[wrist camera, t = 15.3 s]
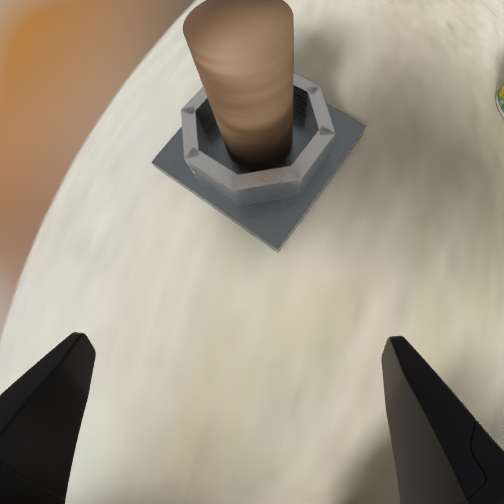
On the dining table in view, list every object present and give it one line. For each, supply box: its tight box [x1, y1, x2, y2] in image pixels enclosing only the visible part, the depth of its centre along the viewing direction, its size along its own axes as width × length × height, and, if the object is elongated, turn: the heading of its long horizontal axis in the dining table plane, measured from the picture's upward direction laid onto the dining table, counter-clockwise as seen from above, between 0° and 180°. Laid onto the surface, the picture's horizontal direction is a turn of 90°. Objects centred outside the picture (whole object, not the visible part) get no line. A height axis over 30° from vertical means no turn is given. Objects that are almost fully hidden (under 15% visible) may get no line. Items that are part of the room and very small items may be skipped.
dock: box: [152, 73, 366, 252], centre depth 22 cm, size 12×12×4 cm
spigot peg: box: [183, 0, 294, 170], centre depth 18 cm, size 5×5×12 cm
